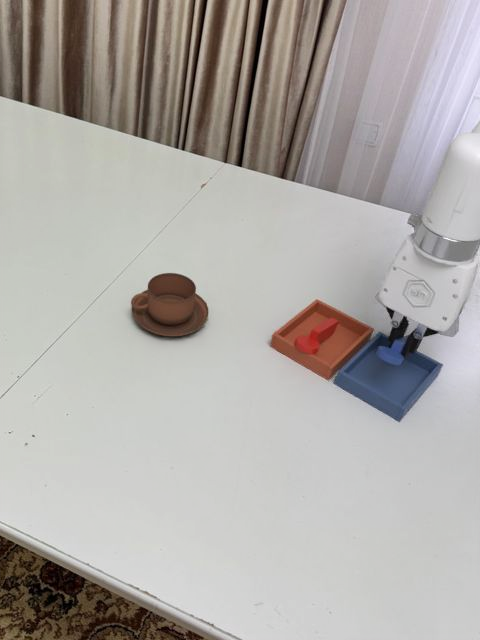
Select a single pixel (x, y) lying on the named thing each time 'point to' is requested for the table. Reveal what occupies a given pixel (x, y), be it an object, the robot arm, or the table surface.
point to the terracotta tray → (332, 349)
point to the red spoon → (316, 336)
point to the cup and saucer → (170, 306)
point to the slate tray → (387, 378)
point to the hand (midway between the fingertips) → (400, 349)
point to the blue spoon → (393, 351)
